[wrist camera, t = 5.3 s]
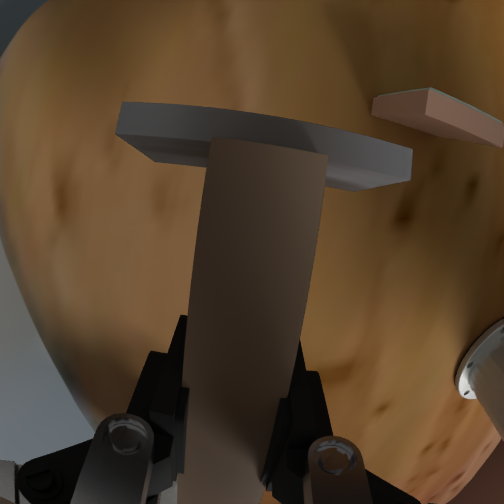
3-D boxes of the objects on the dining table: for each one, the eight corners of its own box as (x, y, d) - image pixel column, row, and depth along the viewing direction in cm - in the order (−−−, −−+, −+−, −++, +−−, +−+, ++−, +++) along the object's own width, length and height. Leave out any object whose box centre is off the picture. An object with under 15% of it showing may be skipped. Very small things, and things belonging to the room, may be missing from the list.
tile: (440, 117, 21) (506, 123, 13) (437, 136, 21) (502, 148, 14) (373, 94, 20) (429, 85, 13) (370, 115, 21) (425, 114, 13)
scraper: (356, 169, 11) (423, 145, 6) (298, 455, 12) (318, 530, 8) (159, 139, 10) (115, 94, 6) (137, 437, 12) (108, 510, 7)
